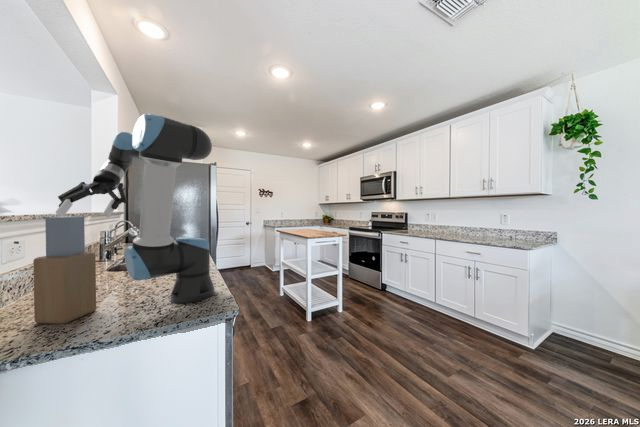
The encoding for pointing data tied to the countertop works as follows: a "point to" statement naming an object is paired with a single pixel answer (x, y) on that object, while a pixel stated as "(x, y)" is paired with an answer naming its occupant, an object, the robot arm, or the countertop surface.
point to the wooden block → (64, 287)
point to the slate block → (64, 236)
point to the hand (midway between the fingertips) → (83, 214)
